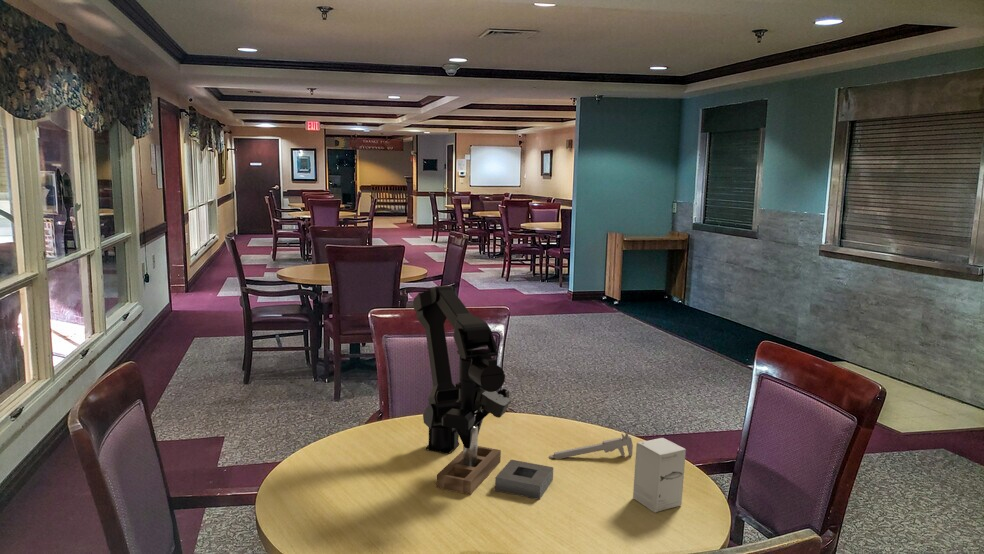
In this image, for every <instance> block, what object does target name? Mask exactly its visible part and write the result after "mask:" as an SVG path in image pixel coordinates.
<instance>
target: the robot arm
mask: <svg viewBox="0 0 984 554" xmlns="http://www.w3.org/2000/svg"><path fill="white" fill-rule="evenodd" d="M412 306H413V309H414V311H415V314H416V319H417V321H418V322H419V323H420V324H421V326H422V327H423V328H424V329H425V336H426V344H427V350H428V351H427V352H428V357H429V364H430V365H429V366H430V373H431V379H432V388H431V390H430V393H429V395H428V398H427V399H428V400H427V401H428V402H427V403H428V405H427V407H426V408H425V410H424V412H423V414H422V419H423V423H424V425H426V426H427V427H428V445H427V446H425V450H426V451H430V452H437V453H441V454H447V455H449V454H451V453H452V452H453V451H455V449H456V448H458V447H459V446H460V442H459V438H460V440H461V443H462V446H463V445H464V447H465V448H468V449H469V448H470V445H471V439H472V433H473V427H474V426H476V425H478V435H479V434H480V431H481V430H480V429H481V426H482V423H483V421H484V418H486V417H487V416H488V415H489V414H492V416H493V417H494V418H501V417H503V415H504V414H506V413H507V409H508V407H509V405H510V404H511V399H512V398H511V397H510V390H509V389H508V388H506V387H502V386H503V385H504V383H505V380H506V375H505V372H504V370H503V368H502V367H500V366H499V365H498V360H497V359H496V358H495V357H498V351H497V350H498V346H497V343H496V340H495V336H494V335H493V331H492V329H491V327H490V326H489V324H488V323H487V322H486V321H485V320H484V319H483V318H481V317H480V316H477V315H473V314H472V313H471V312H470V311H469V309H468V308H467V307H466V306H465V304H464V303H463V301H462V300H461V299H460V297H459V296H458V295H457V294H456V291H455V288H454V286H453V285H452V286H451V285H438V286H434V287H433V286H432V287H431V288H430V289H428V290H425V291H422V292H418V293H417V295H416V296H415V297H414V298H413V302H412ZM447 320H448V322H449V324H450V325H451V326H452V329H454V330H453V337H452V338H453V340H454V343H455V345H456V348H457V350H456V354H457V355H459V358H458V359H459V363H458V364H459V365H458V366H459V367H458V368H459V371H458V382H456V383H455V384H454V383H453V378H452V371H451V363H450V358H449V357H450V356H449V350H448V345H447V343H448V342H447V337H446V336H447V335H446V330H445V329H446V328H445V323H446V321H447ZM493 357H494V358H493ZM500 388H501V389H500ZM499 389H500V390H499Z"/></svg>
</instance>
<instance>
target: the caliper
mask: <svg viewBox="0 0 984 554" xmlns="http://www.w3.org/2000/svg"><path fill="white" fill-rule="evenodd" d="M625 446H626V448H627V452H628V456H629V457H630V456H631V457H632V456H633V446H634V445H633V440H632V437H631V435H629V434H628V431H627V432H625V434H624V433H621V437H617V438H611V439H606V440H603V441H602V442H601V443H596V444H590V445H585V446H579V447H575V448H570V449H564V450H560V451H555V452H553V454H550V455H549V456H548V458H549V459H555V460H556V459H557V460H558V459H560V458H561V459H565V458H570V457H571V458H572V457H574V456H580V455H585V454H590V453H596V452H600V451H601V452H602V451H604V453H608V452H614V451H615V450H617V449H618V451H619V453H620V455H621V457H623V458H625V457H626V455H625V450H624V447H625Z"/></svg>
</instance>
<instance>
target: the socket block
mask: <svg viewBox="0 0 984 554" xmlns="http://www.w3.org/2000/svg"><path fill="white" fill-rule="evenodd" d="M494 479H495V483H494V484H495V485H494V487H495V488H494V490H495V491H497V492H501V493H505V494H506V493H507V494H510V495H516V496H521V497H525V498H530V499H534V500H541V498H542V497H543V495H544V493H546V491H547V490H548V487H550V485H551V483H553V480H554V466H548V465H544V464H538V463H532V462H528V461H527V462H526V461H522V460H515V459H510V460H509V461H508V462H507V464H506V465H505V466H504V467H503V468H502V469H501V470H500V471H499V472H498V474H497V475H496V476H495V478H494Z"/></svg>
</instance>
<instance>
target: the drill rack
mask: <svg viewBox="0 0 984 554" xmlns="http://www.w3.org/2000/svg"><path fill="white" fill-rule="evenodd" d="M501 452H502V451H501V449H498V448H492V447H485V446H481V445H478V450H477V466H475V467H471V466H466V465H463V450H462V451H460V452H459V453H458V455H456V456H455V457H454V458H453V459H452V460H451V461H450V462H449V463H447V464H446V465H445V466H443V467H444V468H442V469H441V470H440V471H439V472H438V473H437V474H436V489H441V490H447V491H450V492H456V493H461V494H465V495H469V496H471V495H472V494H473V493H474V492H475V491H476V490H477V489H478V487H480V485H482V484H483V482H484V481H485V480H486V479H487V478H488V476H489V475H490V474H491V473H492V472H493V471H494V470H495V469H496V467H497V466H498V465H500V463H501V455H502V454H501Z"/></svg>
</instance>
